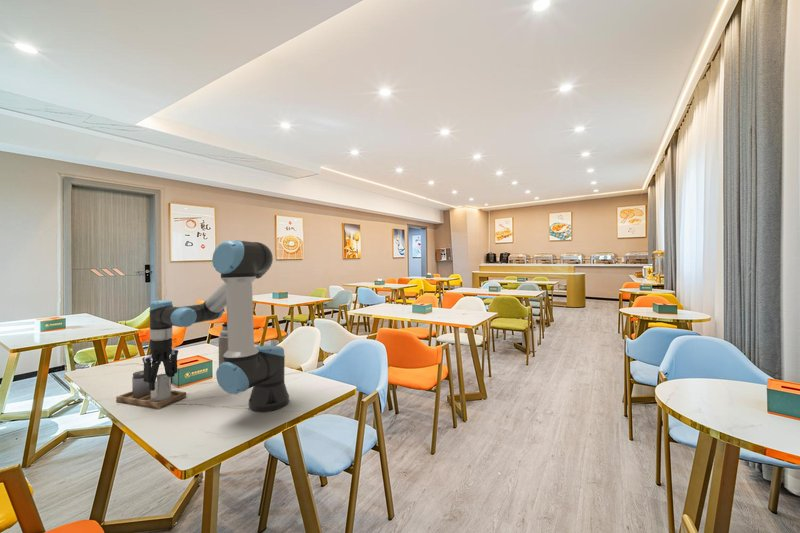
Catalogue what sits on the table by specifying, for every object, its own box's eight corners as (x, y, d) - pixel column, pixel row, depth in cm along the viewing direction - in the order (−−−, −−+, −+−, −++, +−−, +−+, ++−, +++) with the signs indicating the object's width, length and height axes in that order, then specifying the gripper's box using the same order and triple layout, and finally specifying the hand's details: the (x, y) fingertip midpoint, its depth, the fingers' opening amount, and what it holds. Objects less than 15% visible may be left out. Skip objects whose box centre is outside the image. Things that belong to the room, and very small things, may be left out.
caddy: (186, 397, 141) (186, 392, 141) (158, 409, 129) (158, 403, 129) (146, 391, 148) (146, 386, 148) (116, 402, 136) (116, 396, 136)
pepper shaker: (155, 394, 142) (155, 370, 142) (139, 400, 136) (139, 375, 136) (144, 392, 144) (144, 369, 144) (128, 398, 138) (128, 374, 138)
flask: (159, 403, 133) (159, 378, 133) (145, 401, 135) (145, 377, 134) (176, 396, 140) (176, 372, 140) (162, 394, 142) (162, 371, 141)
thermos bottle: (225, 379, 162) (225, 322, 162) (241, 380, 162) (240, 322, 161) (215, 385, 155) (214, 325, 154) (231, 386, 154) (231, 325, 153)
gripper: (174, 333, 146) (174, 386, 147) (131, 342, 129) (131, 402, 130) (188, 334, 144) (187, 388, 145) (145, 344, 127) (145, 405, 127)
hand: (161, 394), depth 137 cm, fingers closed on flask, 5 cm apart
